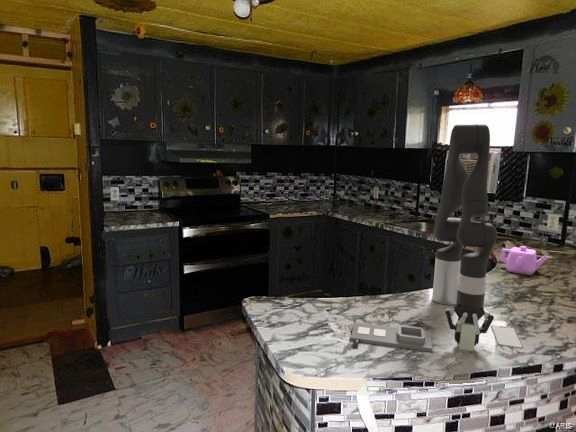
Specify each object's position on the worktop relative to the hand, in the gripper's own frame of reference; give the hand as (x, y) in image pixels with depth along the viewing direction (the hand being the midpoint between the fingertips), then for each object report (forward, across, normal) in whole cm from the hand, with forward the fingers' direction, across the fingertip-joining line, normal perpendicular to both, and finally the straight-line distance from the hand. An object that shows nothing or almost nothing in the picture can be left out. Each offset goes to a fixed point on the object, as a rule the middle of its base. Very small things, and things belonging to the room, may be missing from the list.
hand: (465, 343), depth 127 cm
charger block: (+1, 0, 0) cm, 1 cm away
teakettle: (+2, -40, -98) cm, 106 cm away
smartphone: (+2, -14, -12) cm, 18 cm away
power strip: (+1, +22, +2) cm, 22 cm away
